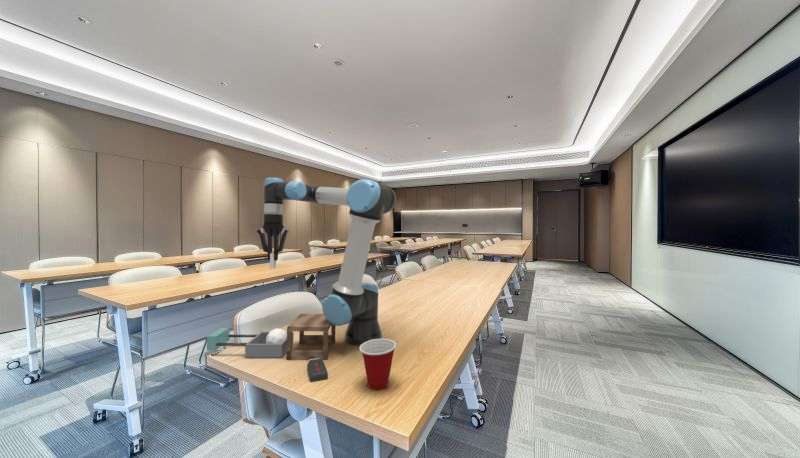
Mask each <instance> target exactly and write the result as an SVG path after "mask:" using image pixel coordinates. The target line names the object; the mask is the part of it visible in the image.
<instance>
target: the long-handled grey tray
mask: <svg viewBox="0 0 800 458" xmlns="http://www.w3.org/2000/svg"><path fill="white" fill-rule="evenodd" d="M230 332H231V331H230V327H220V328H218V329H217V330H215V331H214V332H212V333H211V334H209V335H207V336H206V352H207V351H210V352H211V351H213V352H214V351H217V350H218V349H219V348H221V347H244V350H245V351H244V357H245V358H283V356H285V354H287V337H286V338H285V339H284V340H283V341H282V343H281V344H266V338H267V335H268V334H269V332H270V331H259V333H257V334H230ZM294 332H295V331H292V345H294V338H295V337H294V334H295V333H294ZM230 338H252V339H250V340H249V341H248V342H229V341H230Z"/></svg>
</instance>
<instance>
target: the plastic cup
mask: <svg viewBox="0 0 800 458" xmlns="http://www.w3.org/2000/svg"><path fill="white" fill-rule="evenodd" d="M396 347H397V343H396V342H395V341H394V340H392V339H390V338H389V339H387V338H381V339H374V340H369V341H367V342H364V343H363V344H361V345H359V351H360V353H361V354H362V357H363V363H364V364H363V365H364V369H365V375H366V380H367V385H368V388H370V389H371V390H373V389H374V391H380V390H384V389H387V387H388V384H389V380H390V375H391V370H392V363H393V358H394V353H395V349H396Z"/></svg>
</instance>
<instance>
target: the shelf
mask: <svg viewBox="0 0 800 458" xmlns="http://www.w3.org/2000/svg"><path fill="white" fill-rule="evenodd" d="M329 330H330V334H329ZM286 332H287V351H286V361H309V360H310V359H316V358H320V359H321V360H322V361H327V360H329V359H328V358H329V356H328V355H329V344H335V343H336V325H333V324H331V323H330V322H329V321H328V320H327V319H326V317H325V315H324V313H300V314H299V315H297V316H296V318H295V319H294V320H293V321H292V322H291V323H290V324H288V326H287V327H286ZM292 332H299V334H298V335H299V336H298V337H299V338H298V339H299V344H322V349H293V344H292ZM305 332H322V333H323V334H305Z"/></svg>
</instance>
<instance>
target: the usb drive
mask: <svg viewBox="0 0 800 458" xmlns="http://www.w3.org/2000/svg"><path fill="white" fill-rule="evenodd" d="M307 374H308V379H309V383H310V382H311V383H315V382H321V381H325V380H328V379H329V374H328V370H327V368H326V364H325V362H324V360H321V359H320V358H316V359H310V360H308V362H307Z"/></svg>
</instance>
